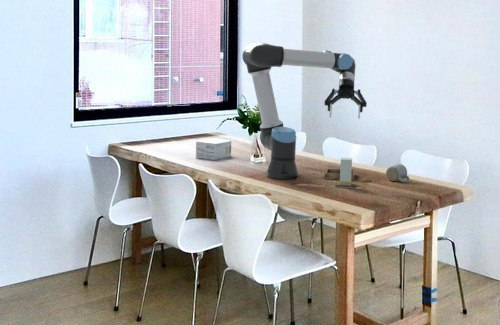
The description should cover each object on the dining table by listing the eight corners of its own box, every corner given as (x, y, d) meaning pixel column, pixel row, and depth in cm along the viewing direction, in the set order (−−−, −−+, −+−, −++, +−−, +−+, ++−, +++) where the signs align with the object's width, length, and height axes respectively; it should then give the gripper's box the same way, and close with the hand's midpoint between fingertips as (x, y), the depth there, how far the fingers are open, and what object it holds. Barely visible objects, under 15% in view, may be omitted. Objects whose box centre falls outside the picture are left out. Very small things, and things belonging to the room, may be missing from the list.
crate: (324, 180, 320) (324, 173, 320) (325, 175, 334) (326, 168, 333) (354, 182, 318) (354, 175, 318) (354, 177, 332) (354, 169, 331)
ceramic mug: (384, 180, 325) (385, 164, 324) (393, 178, 331) (394, 162, 330) (404, 184, 318) (405, 168, 317) (412, 181, 324) (413, 166, 323)
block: (339, 185, 307) (340, 159, 305) (339, 183, 312) (340, 157, 310) (350, 186, 306) (352, 160, 304) (351, 184, 312) (352, 158, 310)
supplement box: (215, 160, 372) (215, 143, 370) (195, 158, 378) (195, 141, 377) (231, 156, 386) (232, 140, 384) (212, 154, 392) (212, 138, 391)
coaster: (334, 187, 306) (335, 186, 306) (335, 183, 314) (335, 182, 314) (355, 188, 304) (355, 187, 304) (355, 184, 313) (355, 183, 313)
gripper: (371, 89, 339) (370, 122, 327) (321, 87, 343) (318, 120, 331) (372, 78, 333) (371, 112, 321) (321, 77, 337) (318, 110, 325)
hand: (344, 116), depth 326 cm, fingers open, 13 cm apart
